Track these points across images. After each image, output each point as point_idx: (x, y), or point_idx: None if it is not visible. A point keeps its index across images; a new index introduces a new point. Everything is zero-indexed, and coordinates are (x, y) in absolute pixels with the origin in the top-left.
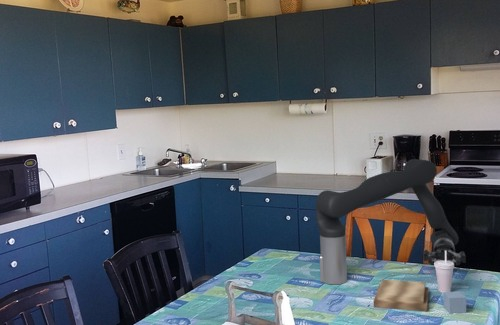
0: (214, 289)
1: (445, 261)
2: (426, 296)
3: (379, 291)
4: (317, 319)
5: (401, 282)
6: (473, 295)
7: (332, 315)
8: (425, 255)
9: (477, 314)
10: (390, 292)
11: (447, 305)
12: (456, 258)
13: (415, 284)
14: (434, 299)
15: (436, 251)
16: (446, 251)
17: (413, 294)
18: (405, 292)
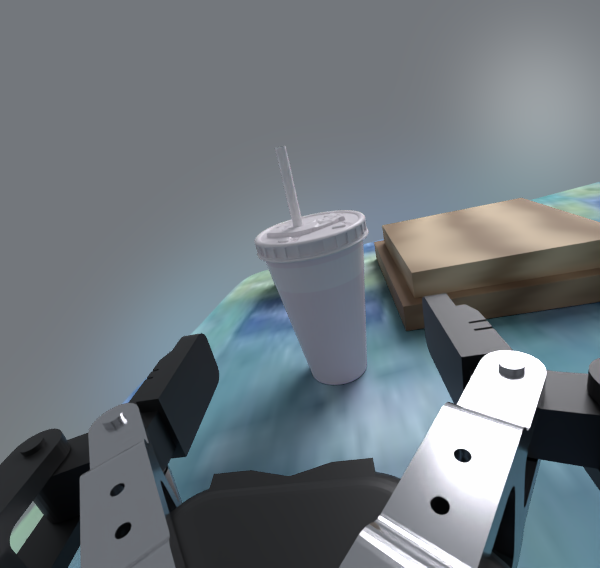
0: None
1: (298, 214)
2: (388, 264)
3: (529, 203)
4: (592, 185)
5: (513, 245)
6: (222, 365)
7: (582, 195)
8: (594, 374)
9: (256, 284)
10: (490, 210)
11: None
12: (180, 356)
13: (442, 252)
14: (370, 303)
15: (451, 488)
16: (277, 152)
17: (415, 223)
18: (444, 222)
